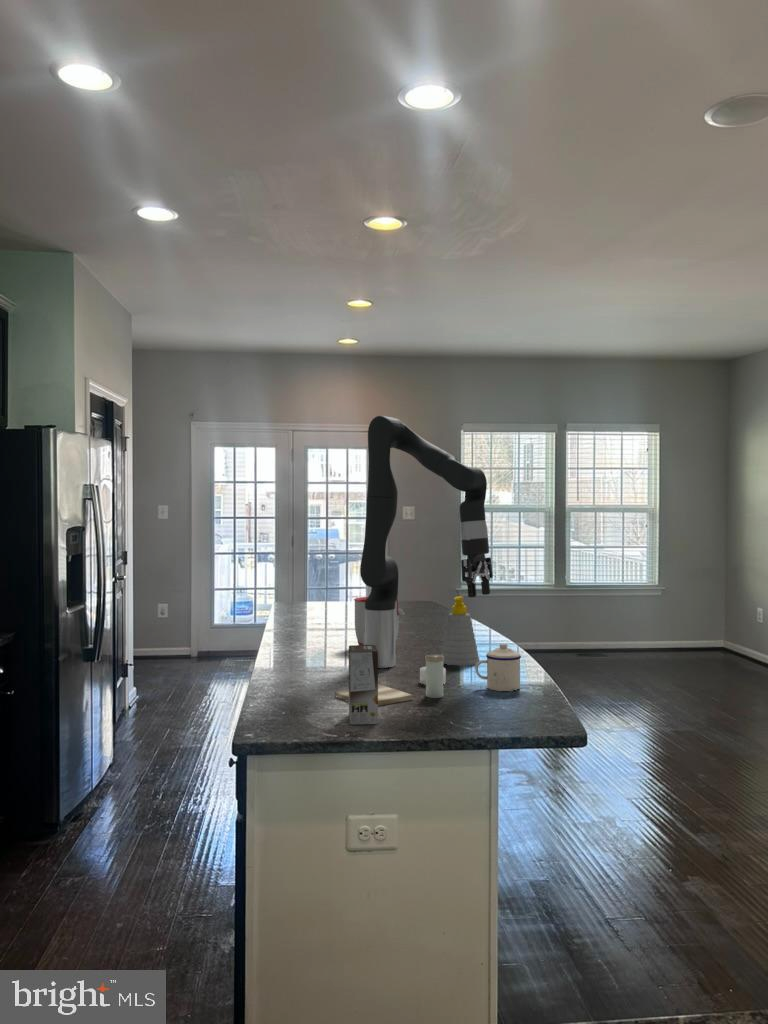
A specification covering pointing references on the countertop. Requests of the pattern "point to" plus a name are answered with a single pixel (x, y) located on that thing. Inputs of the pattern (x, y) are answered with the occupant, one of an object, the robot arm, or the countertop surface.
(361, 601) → the citrus juicer
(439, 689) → the jar
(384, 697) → the board
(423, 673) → the white domed cylinder
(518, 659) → the teacup with lid
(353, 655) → the coffee box
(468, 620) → the soap bottle
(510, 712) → the countertop surface
